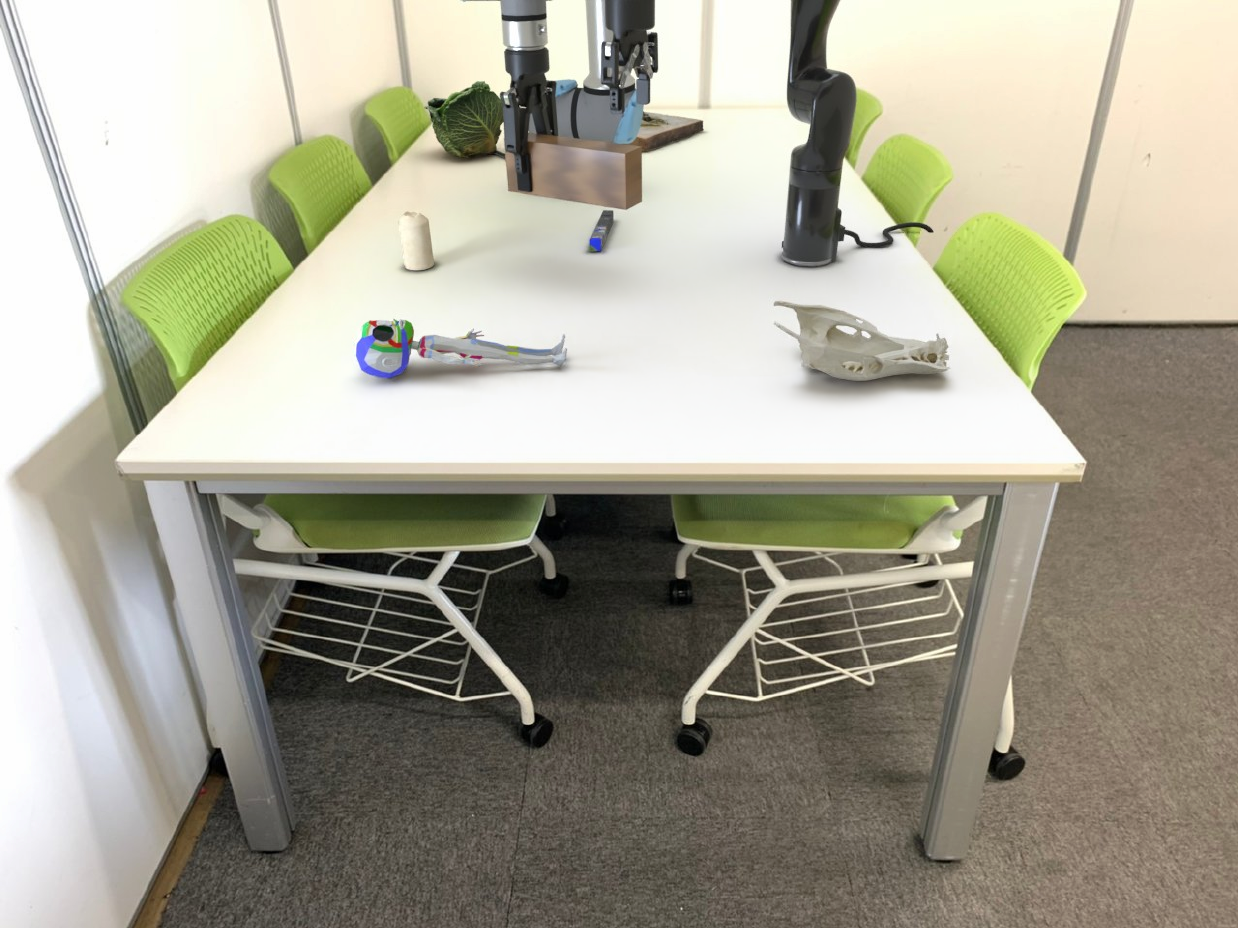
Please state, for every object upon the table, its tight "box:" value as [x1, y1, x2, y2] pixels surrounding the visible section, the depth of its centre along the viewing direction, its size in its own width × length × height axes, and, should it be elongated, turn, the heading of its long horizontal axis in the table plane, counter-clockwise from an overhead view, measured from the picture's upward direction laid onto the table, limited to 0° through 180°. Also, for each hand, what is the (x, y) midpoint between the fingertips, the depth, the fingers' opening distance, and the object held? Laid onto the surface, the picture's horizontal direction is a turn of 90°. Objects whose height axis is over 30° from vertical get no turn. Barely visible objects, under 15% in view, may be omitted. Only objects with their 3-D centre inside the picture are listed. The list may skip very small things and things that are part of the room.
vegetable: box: [424, 80, 504, 159], centre depth 237 cm, size 20×19×20 cm
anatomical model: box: [773, 300, 952, 382], centre depth 127 cm, size 15×9×25 cm
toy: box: [353, 318, 568, 379], centre depth 130 cm, size 10×8×30 cm
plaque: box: [626, 110, 705, 152], centre depth 257 cm, size 30×7×30 cm
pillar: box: [588, 209, 615, 252], centre depth 182 cm, size 2×2×20 cm
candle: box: [397, 211, 435, 271], centre depth 166 cm, size 6×6×10 cm
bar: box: [503, 132, 643, 211], centre depth 157 cm, size 25×6×9 cm, turn 59°
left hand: (535, 186), depth 163 cm, fingers closed on bar, 5 cm apart
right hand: (630, 108), depth 142 cm, fingers open, 8 cm apart
